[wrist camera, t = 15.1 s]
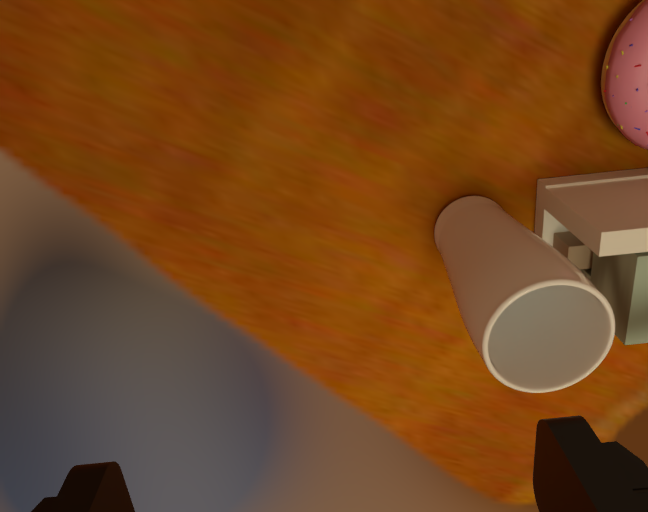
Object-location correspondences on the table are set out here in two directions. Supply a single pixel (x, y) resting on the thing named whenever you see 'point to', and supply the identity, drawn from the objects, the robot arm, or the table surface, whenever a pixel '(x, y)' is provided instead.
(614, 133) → the table surface
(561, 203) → the stand
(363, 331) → the table surface
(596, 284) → the olive boxy piece
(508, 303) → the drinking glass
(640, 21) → the doughnut
